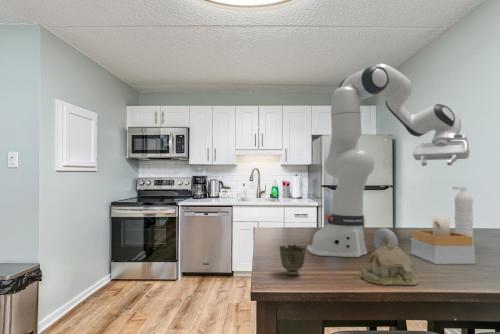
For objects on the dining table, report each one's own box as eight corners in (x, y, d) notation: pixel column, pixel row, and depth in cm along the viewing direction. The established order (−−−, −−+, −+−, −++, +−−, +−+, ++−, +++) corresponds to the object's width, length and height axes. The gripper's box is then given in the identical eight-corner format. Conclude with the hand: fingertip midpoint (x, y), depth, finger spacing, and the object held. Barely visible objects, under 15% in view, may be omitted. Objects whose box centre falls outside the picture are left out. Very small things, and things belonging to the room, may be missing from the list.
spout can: (435, 239, 117) (435, 215, 117) (451, 241, 113) (451, 217, 113) (427, 242, 111) (427, 217, 111) (444, 244, 107) (443, 219, 107)
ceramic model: (397, 273, 95) (397, 239, 96) (426, 285, 84) (426, 247, 85) (355, 276, 92) (355, 241, 92) (380, 289, 81) (380, 249, 81)
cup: (287, 280, 87) (287, 250, 87) (274, 272, 94) (275, 245, 94) (310, 277, 90) (310, 248, 90) (296, 270, 96) (296, 243, 97)
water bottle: (462, 243, 142) (462, 187, 142) (476, 246, 135) (476, 187, 136) (447, 244, 139) (447, 186, 140) (461, 247, 133) (460, 187, 134)
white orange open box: (434, 264, 105) (434, 236, 106) (411, 253, 119) (411, 229, 120) (483, 263, 106) (483, 236, 107) (454, 253, 120) (454, 230, 121)
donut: (371, 252, 120) (371, 226, 121) (377, 252, 122) (377, 225, 122) (393, 259, 112) (393, 230, 112) (400, 258, 113) (400, 229, 113)
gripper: (415, 138, 142) (407, 159, 135) (470, 134, 127) (463, 157, 120) (419, 149, 144) (411, 170, 138) (473, 146, 129) (466, 169, 122)
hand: (436, 164), depth 128 cm, fingers open, 8 cm apart
